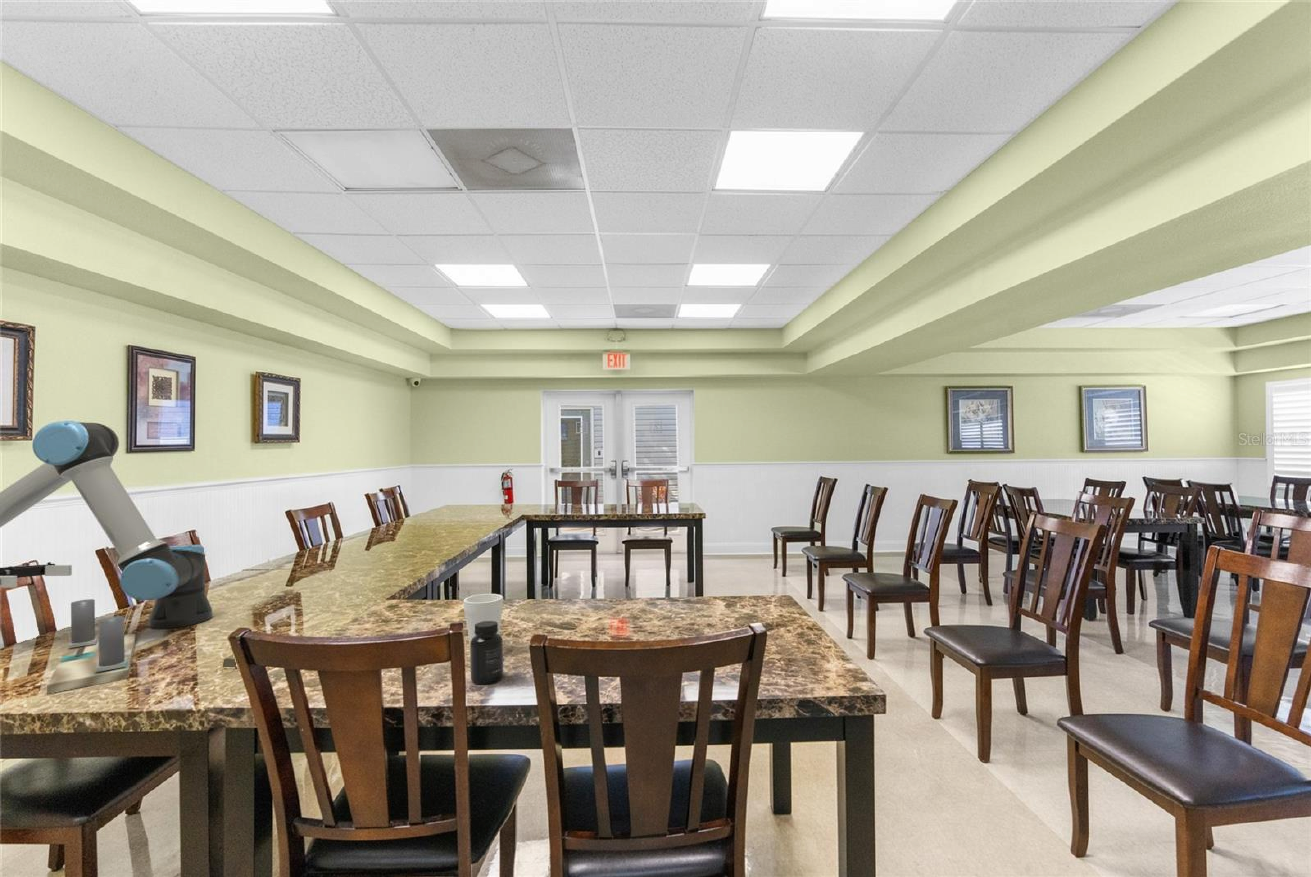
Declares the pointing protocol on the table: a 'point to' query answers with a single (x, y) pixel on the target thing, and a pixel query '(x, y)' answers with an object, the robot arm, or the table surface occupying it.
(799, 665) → the table surface
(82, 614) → the grey upright block
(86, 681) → the switch bank
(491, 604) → the foam cup
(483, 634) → the supplement bottle
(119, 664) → the grey tall block
